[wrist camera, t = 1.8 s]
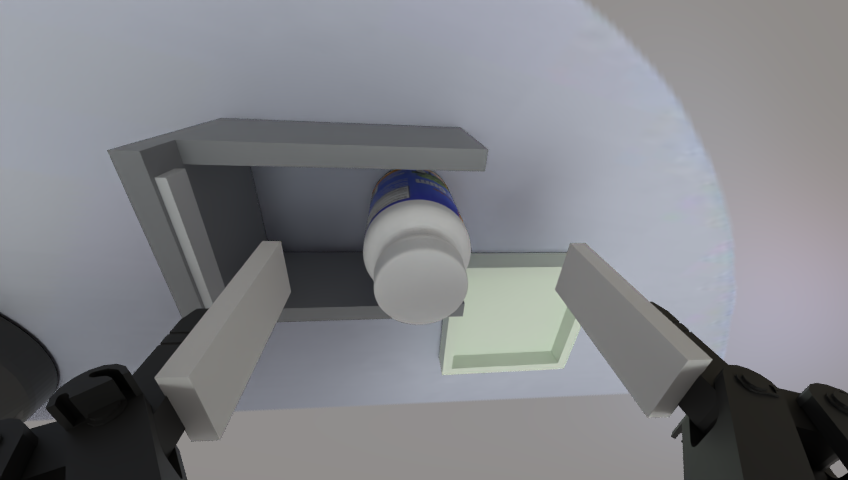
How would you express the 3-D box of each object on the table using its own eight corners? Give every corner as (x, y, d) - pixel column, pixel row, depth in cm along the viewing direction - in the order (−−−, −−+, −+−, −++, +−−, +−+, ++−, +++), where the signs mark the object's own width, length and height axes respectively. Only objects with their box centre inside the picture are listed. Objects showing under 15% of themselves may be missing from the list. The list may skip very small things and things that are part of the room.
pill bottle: (464, 205, 21) (512, 292, 13) (406, 249, 23) (415, 355, 14) (415, 145, 19) (435, 204, 11) (353, 198, 20) (328, 288, 12)
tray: (438, 356, 29) (442, 375, 27) (450, 253, 23) (455, 268, 22) (553, 351, 30) (563, 368, 28) (590, 252, 25) (606, 266, 23)
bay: (258, 264, 22) (197, 352, 15) (220, 118, 17) (107, 150, 10) (446, 262, 24) (470, 341, 17) (461, 127, 19) (502, 161, 12)
